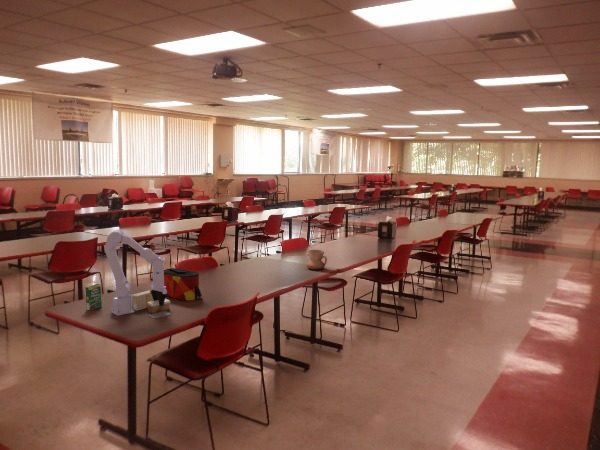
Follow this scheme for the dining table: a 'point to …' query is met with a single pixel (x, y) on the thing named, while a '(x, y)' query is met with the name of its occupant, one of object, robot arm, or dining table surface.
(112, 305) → the robot arm
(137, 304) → the supplement box
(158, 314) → the mat
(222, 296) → the dining table surface
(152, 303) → the lid
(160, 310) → the pen box
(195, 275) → the bag
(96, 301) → the coffee box
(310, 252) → the ceramic jug
